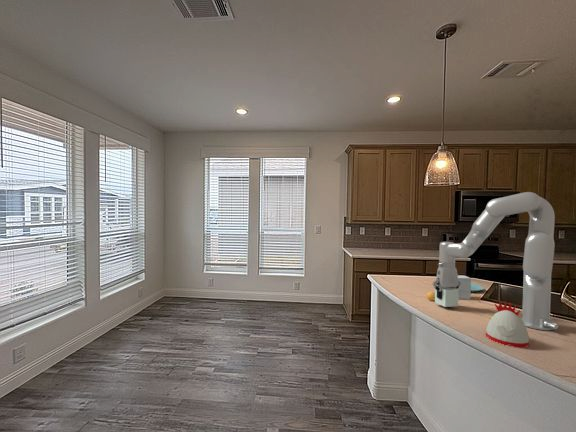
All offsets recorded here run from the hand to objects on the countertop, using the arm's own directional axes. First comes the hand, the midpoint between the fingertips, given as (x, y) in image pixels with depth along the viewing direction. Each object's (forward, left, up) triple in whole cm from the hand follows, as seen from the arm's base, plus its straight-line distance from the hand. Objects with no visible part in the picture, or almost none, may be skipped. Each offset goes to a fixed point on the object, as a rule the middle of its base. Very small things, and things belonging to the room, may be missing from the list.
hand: (446, 297), depth 156 cm
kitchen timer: (-39, +5, -5) cm, 40 cm away
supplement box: (+14, -22, -5) cm, 27 cm away
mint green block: (0, 0, -3) cm, 3 cm away
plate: (+31, -40, -5) cm, 51 cm away
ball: (+12, 0, -2) cm, 12 cm away
